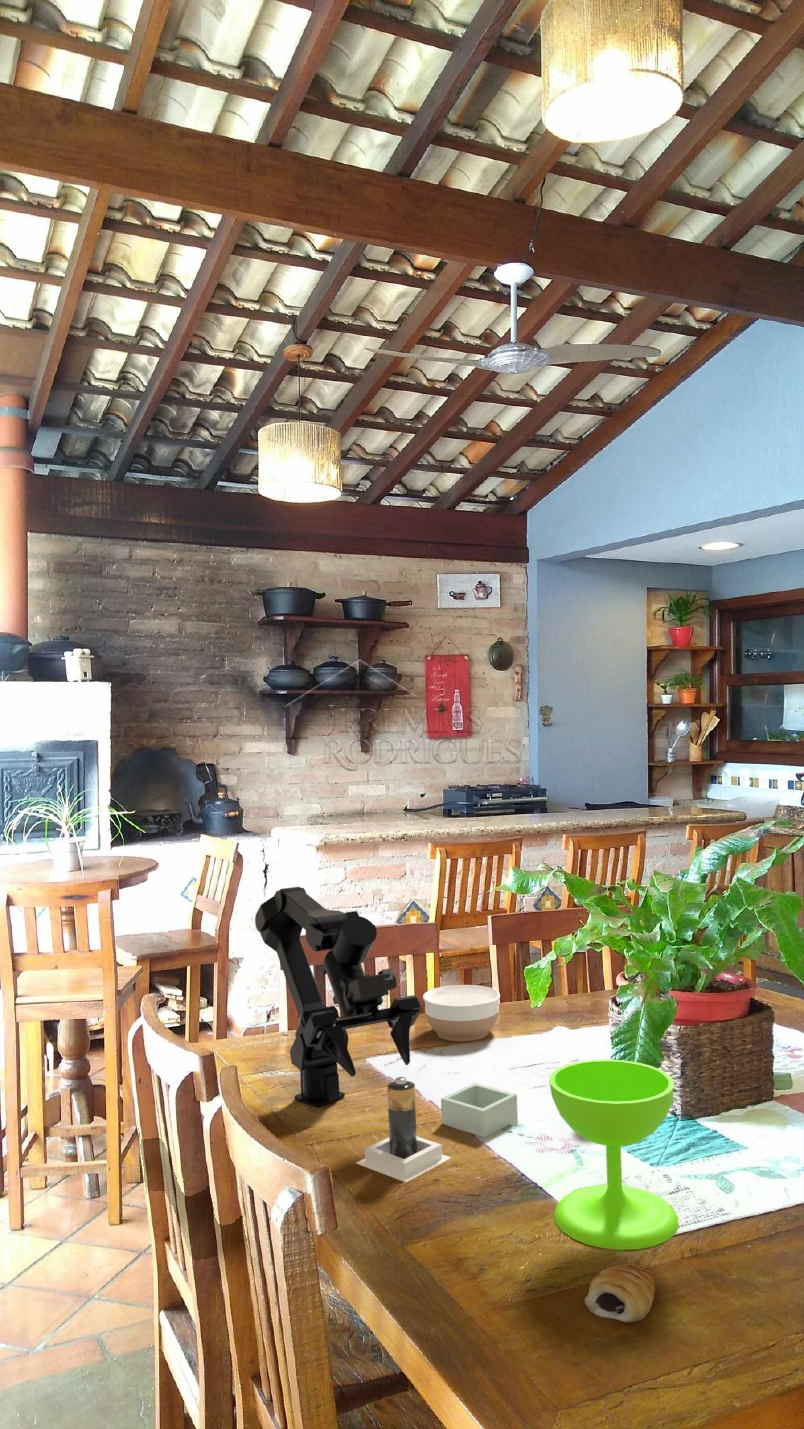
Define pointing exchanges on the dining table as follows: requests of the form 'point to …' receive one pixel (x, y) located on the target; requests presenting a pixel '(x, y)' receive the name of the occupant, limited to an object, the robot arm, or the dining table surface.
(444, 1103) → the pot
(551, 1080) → the wineglass
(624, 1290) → the pastry
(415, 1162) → the cradle
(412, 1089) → the cell
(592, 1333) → the dining table surface
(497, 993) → the bowl
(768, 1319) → the dining table surface
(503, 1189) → the dining table surface
